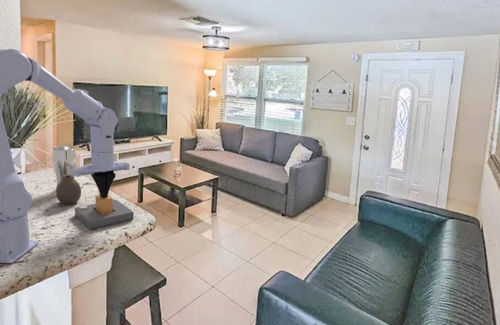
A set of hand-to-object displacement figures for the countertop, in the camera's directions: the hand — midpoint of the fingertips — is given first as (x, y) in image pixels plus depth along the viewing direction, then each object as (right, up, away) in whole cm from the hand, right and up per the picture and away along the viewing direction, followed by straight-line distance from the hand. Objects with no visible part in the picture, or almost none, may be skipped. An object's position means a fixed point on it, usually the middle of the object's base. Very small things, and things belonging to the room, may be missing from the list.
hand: (103, 196), depth 94 cm
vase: (-15, -3, +10) cm, 19 cm away
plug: (0, -6, +1) cm, 6 cm away
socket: (0, -6, +2) cm, 6 cm away
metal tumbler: (-22, 0, +21) cm, 30 cm away
